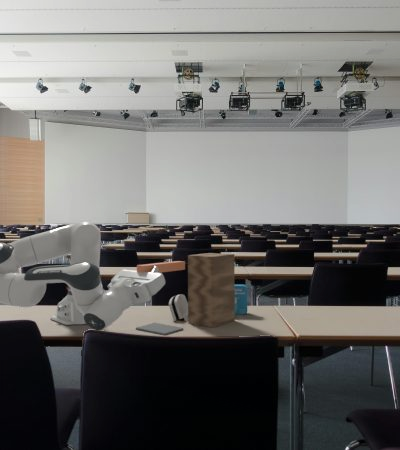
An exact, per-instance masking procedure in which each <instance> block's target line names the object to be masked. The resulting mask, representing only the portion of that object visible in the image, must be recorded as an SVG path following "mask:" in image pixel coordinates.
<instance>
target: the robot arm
mask: <svg viewBox="0 0 400 450" xmlns="http://www.w3.org/2000/svg"><path fill="white" fill-rule="evenodd" d="M101 239H102V238H101V231H100V229H99V227H98V226H97V225H96V224H94V223H93V222H91V221H79V222H75V223H72V224H68V225H65V226H61V227H57V228H54V229H50V230H46V231H44V232H40V233H36V234H32V235H29V236H25V237H22V238H20V239H19V238H18V239H17V240H13V241H12V242H10V243H5V242H0V304H3V305H8V306H13V307H19V308H31V307H34V306H35V305H38V303H40V302H41V300H42V299H43V298H44V296H45V293H46V290H47V284H56V283H58V284H59V283H60V284H61V283H64V284H66V285H67V287H66V290H67V294H66V296H65V297H63V298H62V300H61V301H59V302H57V306H56V313H55V314H53V315H51V316H50V317H49V319H50V320H52V321H55V322H58V323H60V324H61V325H62V324H63V325H64V326H65V325H66V326H69V325H72V326H73V325H87V326H88V327H89V328H91V329H93V330H95V331H103V330H104V329H107V328H108V327H110V326H111V325H112V324H114V322H116V321H117V320H118V319H119V318H120V317H121V316H122V314H123V313H124V311H126V310H127V309H129V308H130V307H131V306H132V305H133V306H134V305H137V304H142V303H149V302H150V300H151V299H152V296H154V295H156V294H157V293H158V292H159V291H160V290H161V289H162V288H163V287H164V286H165V285H166V279H165V276H164V274H163V272H161V273H156V272H157V271H158V270H159V269H158V267H157V266H153V267H152V268H151V270H152V271H150V272H143V273H141V272H137V269H136V270H132V269H131V270H130V269H121V270H119V271H118V272H117V273H116V274H115V275H114V276H113V277H112V278H111V280H110V283H109V284H107V288H108V290H105V289H104V288H103V283H102V278H101V271H100V260H101ZM67 255H70V264H61V265H60V264H59V265H58V264H57V265H42V266H35V267H32V268H30V269H28V270H27V271H26V272H25V273H20V268H24V267H30V266H34V265H38V264H41V263H45V262H49V261H52V260H55V259H56V260H57V259H59V258H62V257H64V256H65V257H66V256H67Z"/></svg>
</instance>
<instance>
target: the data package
mask: <svg viewBox="0 0 400 450" xmlns="http://www.w3.org/2000/svg"><path fill="white" fill-rule="evenodd" d="M234 294H235V316H237V315H241V316H242V315H243V316H245V315H246V314H247V313H248V286H247V285H246V284H235V283H234Z"/></svg>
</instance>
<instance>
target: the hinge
mask: <svg viewBox="0 0 400 450" xmlns="http://www.w3.org/2000/svg"><path fill="white" fill-rule="evenodd" d="M168 307H169V310H170V314H171V316H172V319H173V321H174V322H175V321H178V320H182V319H184V322H188V299H187V297H186V296H185V294H183V293H181V294H177V295H174V296H172V297H171V298H170V299H169V301H168Z"/></svg>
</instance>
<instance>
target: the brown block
mask: <svg viewBox="0 0 400 450" xmlns="http://www.w3.org/2000/svg"><path fill="white" fill-rule="evenodd" d="M234 284H235V254H234V253H233V254H232V253H218V252H217V253H216V252H215V253H214V252H208V253H207V252H206V253H198V254H189V255H187V302H188V320H187V322H188V324H192V325H197V326H202V327H208V328H216V327H219V326H222V325H225V324H226V325H227V324H228V323H231V322H235V316H236V315H235V294H234Z"/></svg>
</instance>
